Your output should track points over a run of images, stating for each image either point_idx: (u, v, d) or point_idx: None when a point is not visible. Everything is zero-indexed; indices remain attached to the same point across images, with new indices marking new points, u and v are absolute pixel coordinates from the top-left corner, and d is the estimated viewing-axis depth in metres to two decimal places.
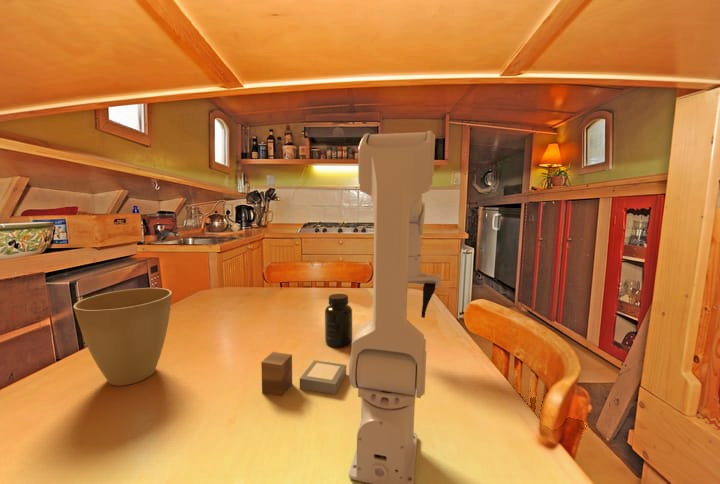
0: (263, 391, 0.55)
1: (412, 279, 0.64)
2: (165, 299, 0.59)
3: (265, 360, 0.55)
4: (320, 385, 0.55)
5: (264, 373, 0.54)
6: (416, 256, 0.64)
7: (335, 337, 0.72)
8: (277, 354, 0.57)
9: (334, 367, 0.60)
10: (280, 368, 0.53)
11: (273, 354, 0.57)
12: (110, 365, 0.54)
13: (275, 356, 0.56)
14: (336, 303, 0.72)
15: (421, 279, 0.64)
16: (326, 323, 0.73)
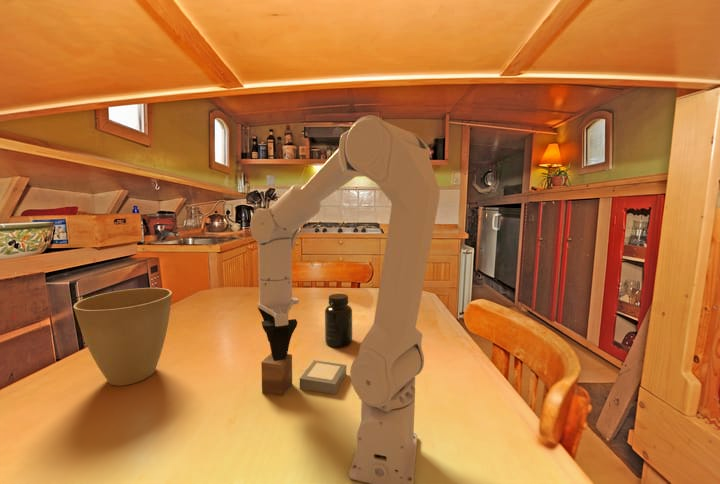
0: (263, 391, 0.55)
1: (260, 307, 0.52)
2: (165, 299, 0.59)
3: (265, 360, 0.55)
4: (320, 385, 0.55)
5: (264, 373, 0.54)
6: (265, 280, 0.51)
7: (335, 337, 0.72)
8: None
9: (334, 367, 0.60)
10: (280, 368, 0.53)
11: None
12: (110, 365, 0.54)
13: None
14: (336, 303, 0.72)
15: (265, 310, 0.51)
16: (326, 323, 0.73)
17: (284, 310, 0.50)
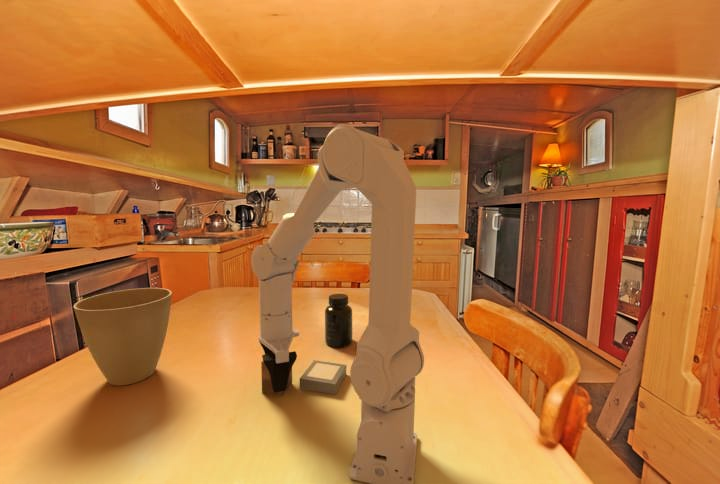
0: (263, 391, 0.55)
1: (261, 341, 0.53)
2: (165, 299, 0.59)
3: None
4: (320, 385, 0.55)
5: (264, 373, 0.54)
6: (265, 315, 0.52)
7: (335, 337, 0.72)
8: None
9: (334, 367, 0.60)
10: None
11: None
12: (110, 365, 0.54)
13: None
14: (336, 303, 0.72)
15: (266, 345, 0.51)
16: (326, 323, 0.73)
17: (285, 345, 0.51)
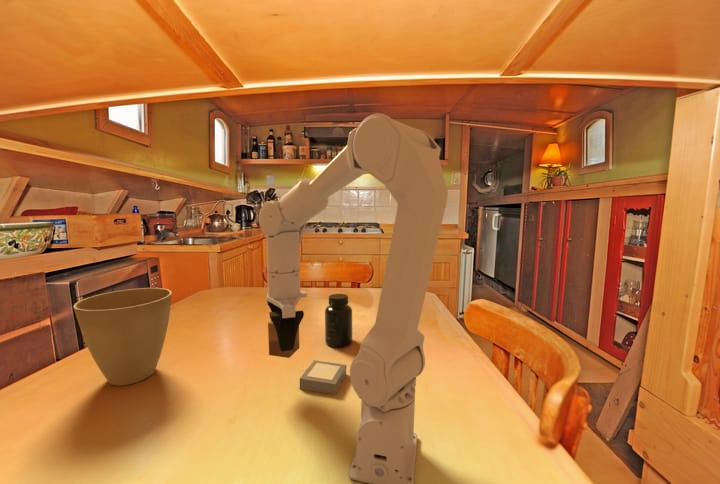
0: (270, 353, 0.54)
1: (268, 300, 0.52)
2: (165, 299, 0.59)
3: None
4: (320, 385, 0.55)
5: (271, 334, 0.54)
6: (273, 273, 0.52)
7: (335, 337, 0.72)
8: None
9: (334, 367, 0.60)
10: None
11: None
12: (110, 365, 0.54)
13: None
14: (336, 303, 0.72)
15: (273, 302, 0.51)
16: (326, 323, 0.73)
17: (291, 302, 0.51)
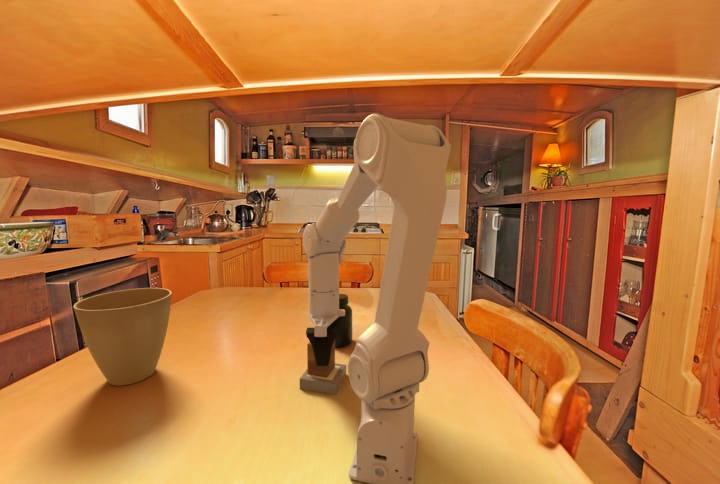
0: (308, 372, 0.57)
1: (308, 316, 0.56)
2: (165, 299, 0.59)
3: None
4: (320, 385, 0.55)
5: (310, 355, 0.57)
6: (312, 291, 0.55)
7: None
8: None
9: None
10: None
11: None
12: (110, 365, 0.54)
13: None
14: None
15: (311, 319, 0.54)
16: None
17: (326, 322, 0.53)
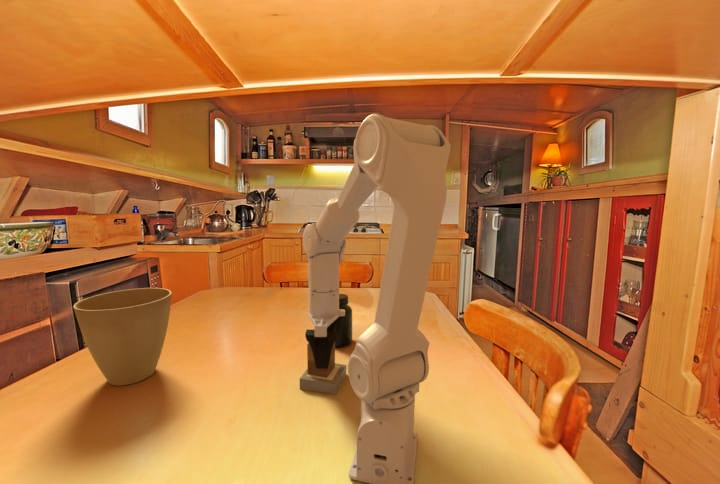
0: (308, 372, 0.57)
1: (308, 316, 0.56)
2: (165, 299, 0.59)
3: None
4: (320, 385, 0.55)
5: (310, 355, 0.57)
6: (312, 291, 0.55)
7: None
8: None
9: None
10: None
11: None
12: (110, 365, 0.54)
13: None
14: None
15: (311, 319, 0.54)
16: None
17: (326, 322, 0.53)
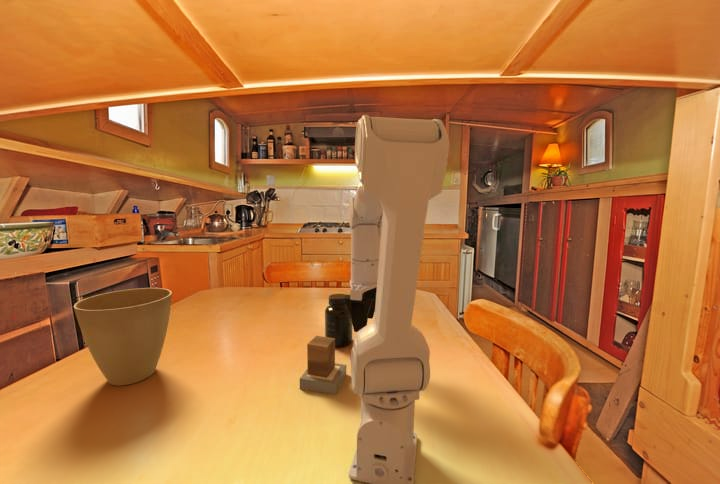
0: (308, 372, 0.57)
1: None
2: (165, 299, 0.59)
3: (311, 342, 0.57)
4: (320, 385, 0.55)
5: (310, 355, 0.57)
6: (352, 260, 0.59)
7: (335, 337, 0.72)
8: (321, 338, 0.60)
9: None
10: (325, 350, 0.56)
11: (317, 337, 0.60)
12: (110, 365, 0.54)
13: (319, 339, 0.59)
14: (336, 303, 0.72)
15: (350, 286, 0.58)
16: (326, 323, 0.73)
17: (363, 288, 0.56)
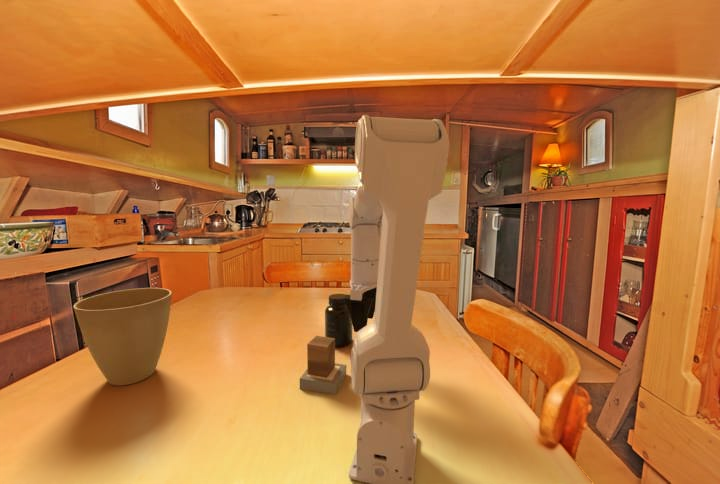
0: (308, 372, 0.57)
1: None
2: (165, 299, 0.59)
3: (311, 342, 0.57)
4: (320, 385, 0.55)
5: (310, 355, 0.57)
6: (352, 260, 0.59)
7: (335, 337, 0.72)
8: (321, 338, 0.60)
9: None
10: (325, 350, 0.56)
11: (317, 337, 0.60)
12: (110, 365, 0.54)
13: (319, 339, 0.59)
14: (336, 303, 0.72)
15: (350, 286, 0.58)
16: (326, 323, 0.73)
17: (363, 288, 0.56)
